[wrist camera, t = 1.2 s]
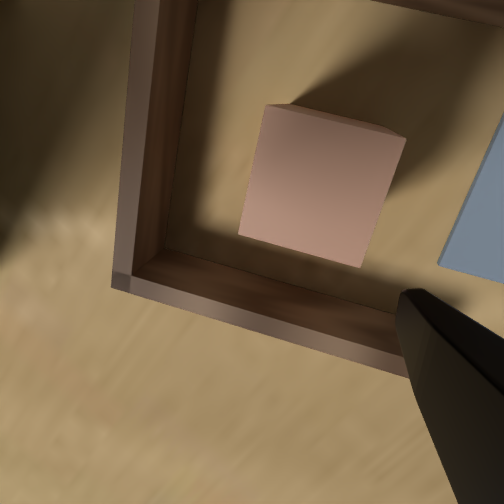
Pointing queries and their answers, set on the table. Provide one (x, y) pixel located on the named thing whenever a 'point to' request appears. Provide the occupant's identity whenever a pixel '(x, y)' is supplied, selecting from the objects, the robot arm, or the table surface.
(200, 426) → the table surface
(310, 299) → the brown open boxy piece
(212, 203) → the table surface
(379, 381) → the table surface
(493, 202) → the slate mat
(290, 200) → the terracotta block
